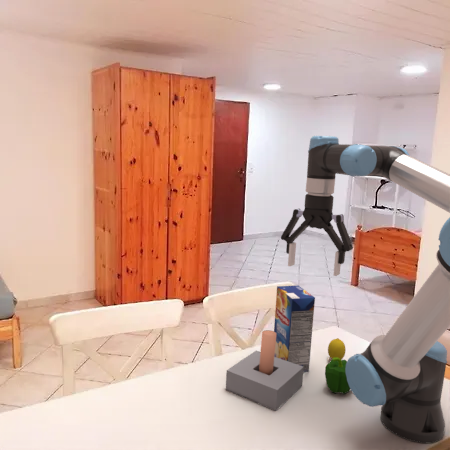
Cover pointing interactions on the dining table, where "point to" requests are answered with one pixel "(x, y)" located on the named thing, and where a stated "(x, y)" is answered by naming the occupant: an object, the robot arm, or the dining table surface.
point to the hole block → (264, 381)
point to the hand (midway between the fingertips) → (313, 270)
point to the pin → (267, 352)
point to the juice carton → (294, 325)
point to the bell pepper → (337, 376)
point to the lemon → (336, 349)
